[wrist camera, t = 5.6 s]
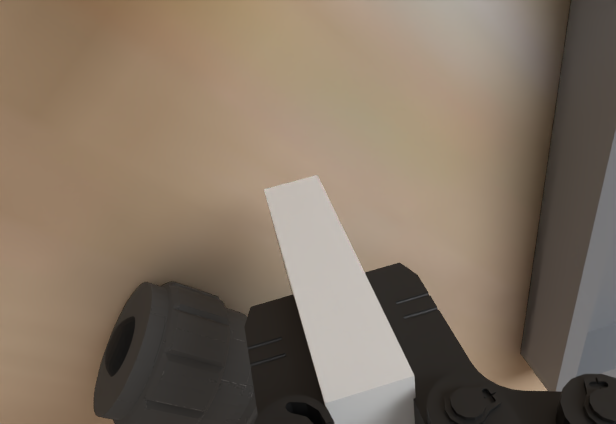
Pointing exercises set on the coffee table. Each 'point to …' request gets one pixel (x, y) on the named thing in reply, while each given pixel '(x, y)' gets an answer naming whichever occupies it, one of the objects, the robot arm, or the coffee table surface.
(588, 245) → the box
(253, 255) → the coffee table surface
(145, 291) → the flashlight
